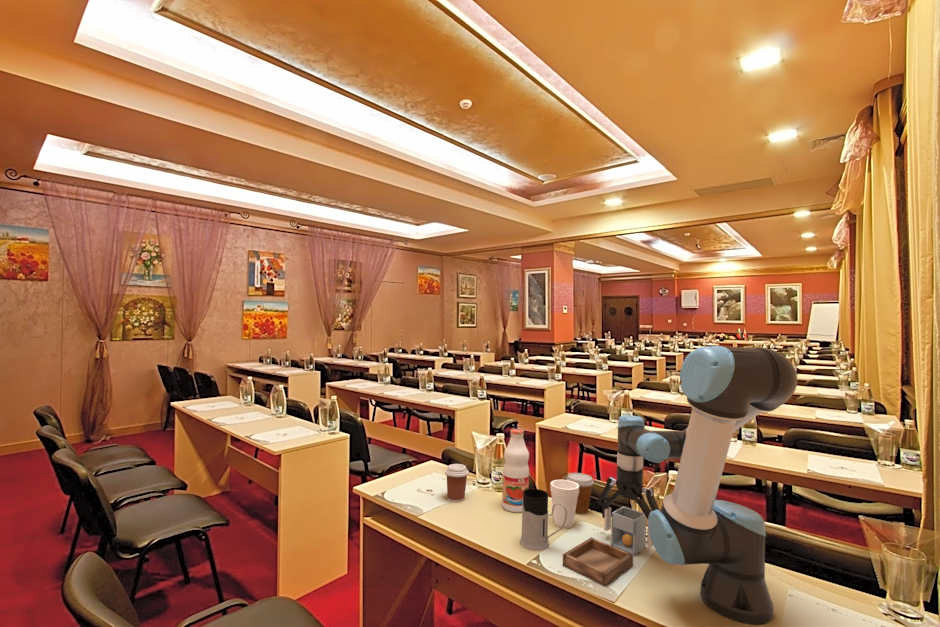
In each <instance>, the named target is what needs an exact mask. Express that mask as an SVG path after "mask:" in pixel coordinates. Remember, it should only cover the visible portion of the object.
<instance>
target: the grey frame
mask: <svg viewBox="0 0 940 627" xmlns="http://www.w3.org/2000/svg"><path fill="white" fill-rule="evenodd" d="M610 530H611V532H610V545H611V546H613V547H616V548H618V549H621V550H623V551H626V552H628V553H631V554H633V557H634V556H636V555H637V554H639V553H640V552H642V551H644V549H646V547H647V541H646V540H647V539H646V537H647V518H646V516H645V514H644V513H643V511H639V510H635V509H632V508H630V507H628V506H627V507H626V506H621V507H619V508H617V509H616V510H614V511H611V529H610ZM625 534H629V535H631V536H632V538H633V544H632V545H630V546H626V545H625V544H624V543H623V541H622V537H623V535H625Z"/></svg>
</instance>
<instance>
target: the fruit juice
mask: <svg viewBox="0 0 940 627" xmlns="http://www.w3.org/2000/svg"><path fill="white" fill-rule="evenodd" d="M524 435H525V431H524V429H521V428H511V429H510V437H509V442H508V444H507V446H506V448H505V450H504V451H503V452H504V453H503V456H504V464H503V468H502V469H503V470H502V500H501V504H502V508H503V510H505V511H508V512H510V513H522V503H523V492H524V491H525V490H527V489H530V488H529V487H530V468H529V464H528V462H529V459H530V451H529V450H528V448H527V445H526V442H525V440H524Z"/></svg>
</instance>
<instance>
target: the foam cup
mask: <svg viewBox="0 0 940 627" xmlns="http://www.w3.org/2000/svg"><path fill="white" fill-rule="evenodd" d="M549 489H550V493H551V504H552V507H553V505H554V504H556V503H561V504H563V505H564V506H565V508H566V510H567V518H566V522H565V524H564V526H563V528H562V529H568V528H572V527H573V526H574V522H575V517H576V513H575V511H576V505H577V498H578V495H579V485H578V484H577V483H575V482H573V481H569V480H567V479H554V480H552V481H550V488H549ZM552 516H553V523H554V525H555V526H557V527H559V528H561V526H562V525H563V523H564V520H565V509H564V508H563V506H561V505H559V504H557V505H555V507H554V510H553V515H552Z"/></svg>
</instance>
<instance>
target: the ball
mask: <svg viewBox="0 0 940 627" xmlns="http://www.w3.org/2000/svg"><path fill="white" fill-rule="evenodd" d="M622 541H623V543H624V544H625V545H626V546H630V545H632V544H633V538H632V536H631V535H629V534H625V535H623V537H622Z"/></svg>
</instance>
